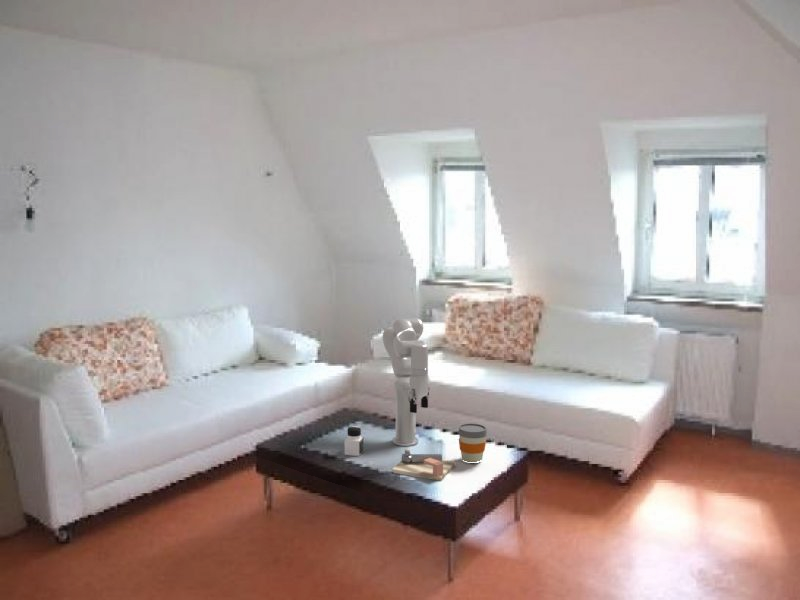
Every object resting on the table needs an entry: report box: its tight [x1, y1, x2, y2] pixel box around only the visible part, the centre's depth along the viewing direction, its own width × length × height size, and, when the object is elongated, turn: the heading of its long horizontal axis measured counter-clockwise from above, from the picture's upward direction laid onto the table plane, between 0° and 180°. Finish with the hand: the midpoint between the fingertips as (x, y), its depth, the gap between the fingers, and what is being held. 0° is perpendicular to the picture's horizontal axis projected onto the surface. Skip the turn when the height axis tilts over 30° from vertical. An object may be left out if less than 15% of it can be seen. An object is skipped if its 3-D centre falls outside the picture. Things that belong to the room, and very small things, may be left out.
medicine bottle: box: [344, 425, 365, 457], centre depth 299 cm, size 7×7×12 cm
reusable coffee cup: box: [457, 422, 488, 462], centre depth 291 cm, size 13×13×15 cm
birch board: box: [391, 449, 456, 482], centre depth 281 cm, size 18×22×7 cm
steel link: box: [401, 453, 443, 463], centre depth 285 cm, size 18×5×2 cm, turn 93°
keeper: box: [424, 458, 443, 477], centre depth 273 cm, size 8×4×5 cm, turn 43°
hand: (418, 409), depth 289 cm, fingers open, 9 cm apart
